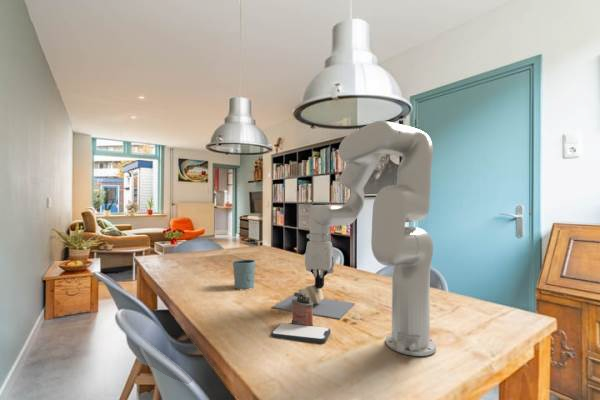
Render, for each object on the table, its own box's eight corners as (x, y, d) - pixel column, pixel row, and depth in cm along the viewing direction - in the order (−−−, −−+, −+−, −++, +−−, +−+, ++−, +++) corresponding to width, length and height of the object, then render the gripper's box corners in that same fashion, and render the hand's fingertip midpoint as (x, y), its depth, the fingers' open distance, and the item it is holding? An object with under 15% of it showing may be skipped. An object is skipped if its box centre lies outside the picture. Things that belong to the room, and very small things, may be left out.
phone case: (269, 339, 88) (324, 345, 83) (269, 333, 88) (324, 339, 83) (280, 327, 96) (331, 333, 92) (280, 322, 96) (331, 327, 92)
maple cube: (312, 286, 113) (298, 289, 115) (317, 302, 112) (303, 306, 114) (318, 282, 118) (305, 286, 121) (323, 298, 117) (310, 301, 119)
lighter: (315, 327, 95) (315, 294, 95) (308, 330, 92) (308, 297, 93) (296, 320, 100) (296, 289, 101) (289, 323, 98) (289, 291, 98)
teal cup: (253, 290, 136) (253, 263, 136) (230, 290, 136) (230, 263, 137) (256, 284, 146) (256, 259, 147) (235, 284, 146) (235, 259, 147)
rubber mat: (339, 319, 102) (339, 318, 102) (271, 307, 113) (271, 306, 113) (354, 304, 118) (354, 302, 118) (293, 295, 129) (293, 294, 129)
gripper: (297, 238, 115) (296, 287, 115) (335, 240, 108) (335, 293, 108) (305, 236, 122) (305, 283, 121) (342, 238, 115) (342, 287, 115)
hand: (319, 287), depth 115 cm, fingers closed
